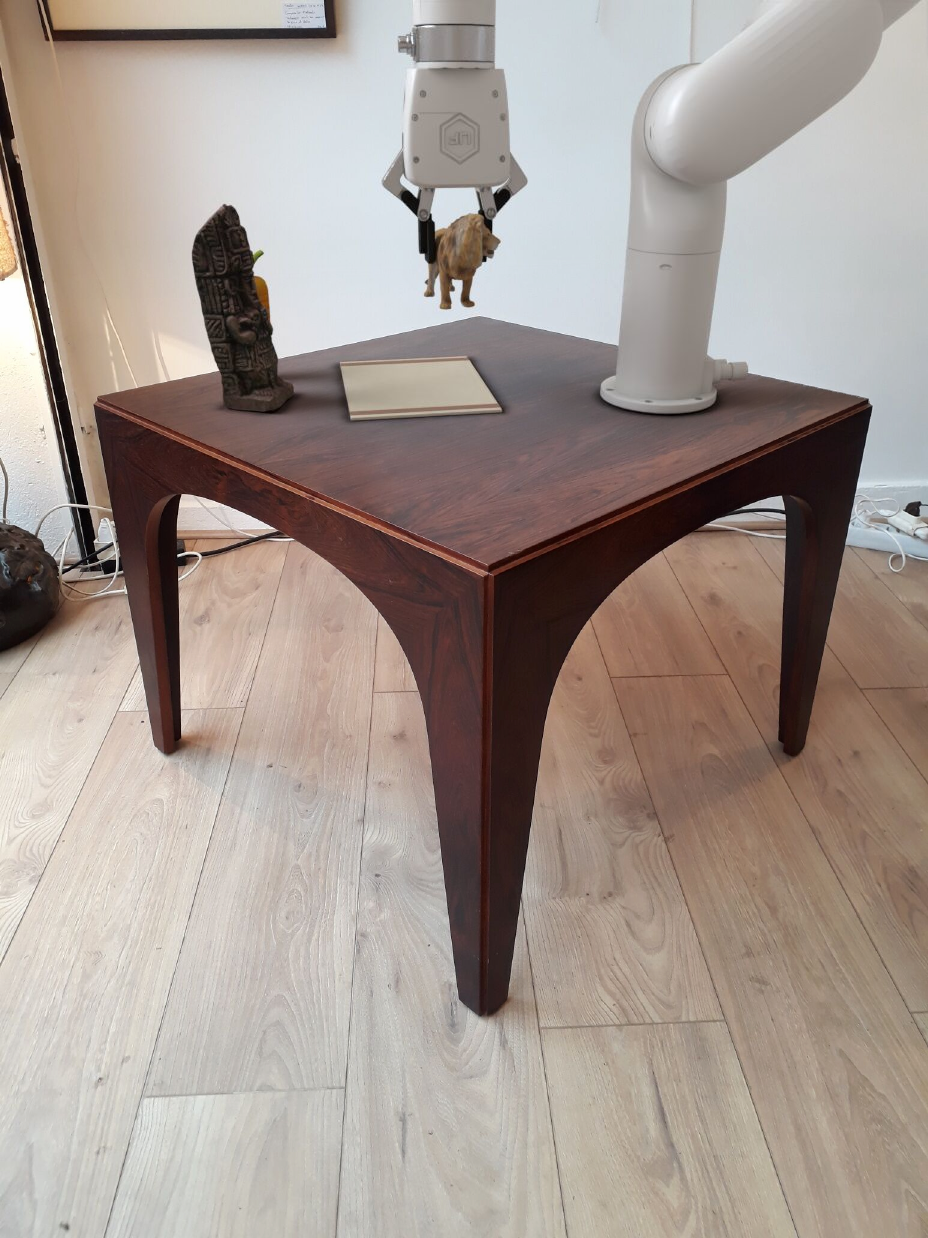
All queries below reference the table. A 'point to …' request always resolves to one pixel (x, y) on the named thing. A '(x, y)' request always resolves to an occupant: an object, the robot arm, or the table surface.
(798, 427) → the table surface
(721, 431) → the table surface
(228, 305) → the statue
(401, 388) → the napkin
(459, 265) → the lion figurine
